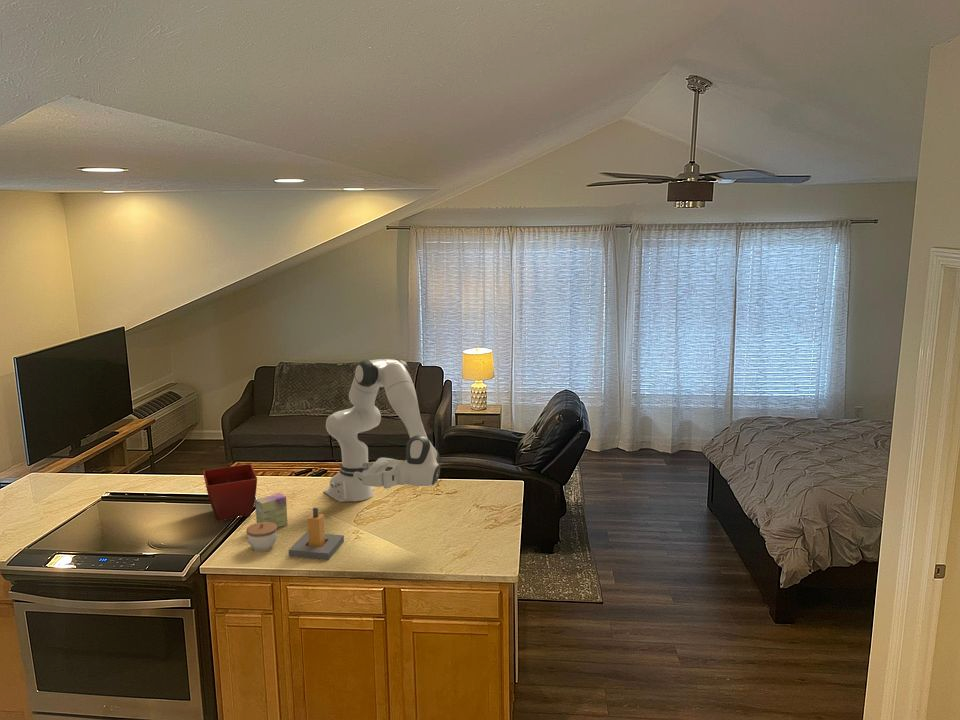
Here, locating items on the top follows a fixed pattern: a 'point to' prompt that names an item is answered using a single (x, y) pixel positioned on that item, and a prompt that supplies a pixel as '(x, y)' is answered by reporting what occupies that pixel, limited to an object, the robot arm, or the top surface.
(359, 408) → the robot arm
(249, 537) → the lidded jar
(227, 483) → the plant pot
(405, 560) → the top surface
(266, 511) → the box
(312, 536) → the plug
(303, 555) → the socket
